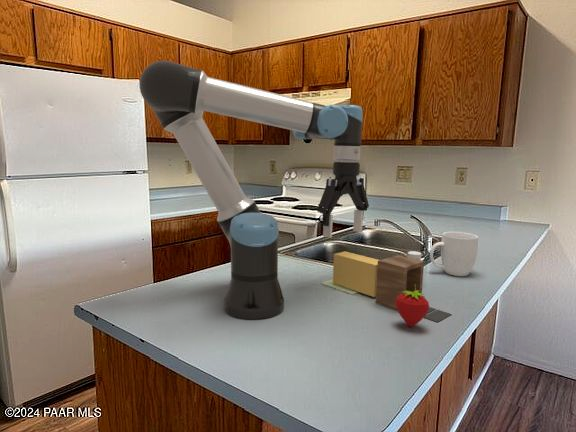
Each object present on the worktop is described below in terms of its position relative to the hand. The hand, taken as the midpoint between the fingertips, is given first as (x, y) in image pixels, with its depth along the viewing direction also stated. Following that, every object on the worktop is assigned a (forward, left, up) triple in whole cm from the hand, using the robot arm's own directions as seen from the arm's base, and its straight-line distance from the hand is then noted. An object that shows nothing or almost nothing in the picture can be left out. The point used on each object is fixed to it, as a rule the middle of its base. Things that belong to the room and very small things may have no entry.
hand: (343, 234), depth 118 cm
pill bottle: (+17, -14, -16) cm, 27 cm away
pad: (0, -2, -15) cm, 15 cm away
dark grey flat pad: (0, -28, -15) cm, 32 cm away
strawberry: (-10, -30, -16) cm, 35 cm away
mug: (+37, -17, -16) cm, 44 cm away
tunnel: (0, -20, -15) cm, 25 cm away
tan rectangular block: (0, -6, -15) cm, 16 cm away
